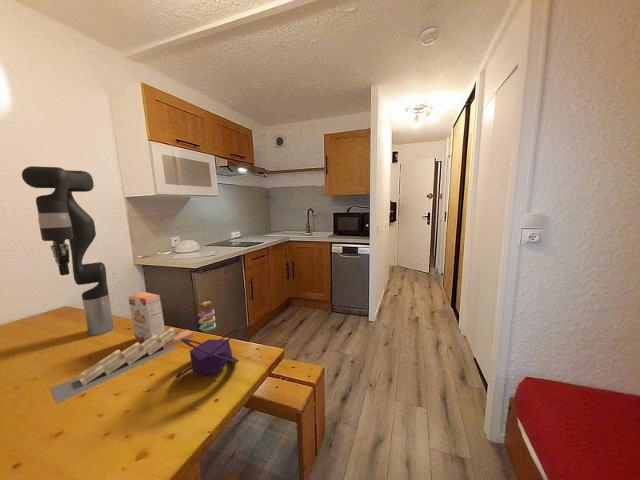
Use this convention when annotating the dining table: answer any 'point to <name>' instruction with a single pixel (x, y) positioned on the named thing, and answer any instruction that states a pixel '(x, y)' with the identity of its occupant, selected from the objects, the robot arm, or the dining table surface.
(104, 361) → the tile
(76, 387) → the slate mat
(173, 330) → the tall wooden block
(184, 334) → the end tile
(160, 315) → the cracker box
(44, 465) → the dining table surface
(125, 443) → the dining table surface
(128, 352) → the tile
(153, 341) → the tile
